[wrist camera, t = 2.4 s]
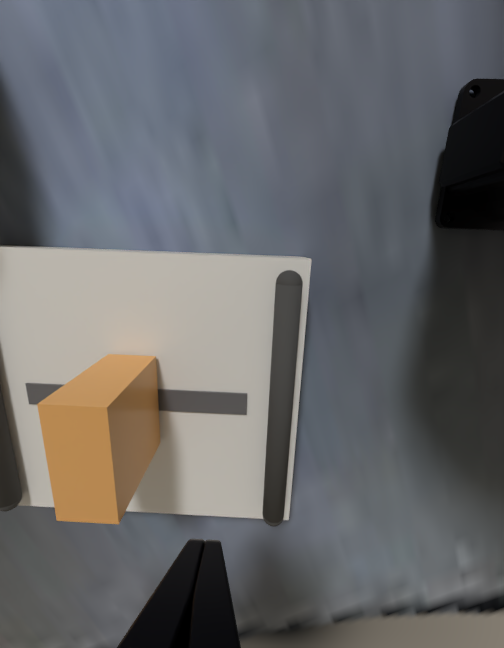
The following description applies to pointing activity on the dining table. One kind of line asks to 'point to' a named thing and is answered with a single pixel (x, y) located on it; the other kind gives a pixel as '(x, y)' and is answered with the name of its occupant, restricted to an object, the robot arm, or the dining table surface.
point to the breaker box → (171, 358)
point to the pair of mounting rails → (3, 479)
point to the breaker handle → (101, 437)
